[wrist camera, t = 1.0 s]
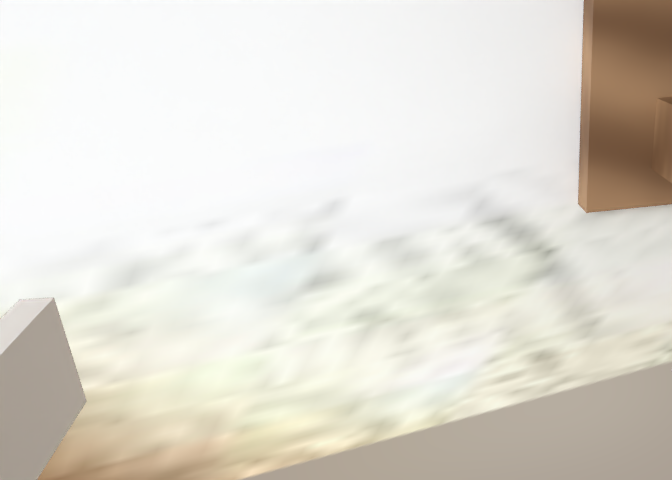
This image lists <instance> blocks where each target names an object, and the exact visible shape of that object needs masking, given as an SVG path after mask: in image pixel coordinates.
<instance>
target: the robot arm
mask: <svg viewBox="0 0 672 480" xmlns="http://www.w3.org/2000/svg"><path fill="white" fill-rule="evenodd" d="M85 403H86V398H85V394H84V391H83V388H82V385H81V382H80V379H79V375H78V372H77V369H76V366H75V363H74V360H73V357H72V353H71V350H70V347H69V344H68V341H67V338H66V334H65V331H64V328H63V325H62V322H61V319H60V315H59V312H58V309H57V306H56V303H55V300H54V298H38V299H23V300H19V301H18V302H17V303H16V304H15V305H14V306H13V307H12V308H11V309H10V310H8V311H7V312H6V313H5V314H4V315H3V316H2V317H1V318H0V480H37V479H38V477H39V476H40V474H41V472H42V471H43V469H44V468H45V466H46V465H47V463H48V461H49V460H50V458H51V457H52V455H53V454H54V452H55V450H56V449H57V447H58V446H59V444H60V442H61V441H62V439H63V438H64V436H65V435H66V433H67V431H68V430H69V428H70V427H71V425H72V424H73V422H74V420H75V419H76V417H77V416H78V414H79V412H80V411H81V409H82V408H83V406H84V405H85Z"/></svg>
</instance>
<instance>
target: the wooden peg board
mask: <svg viewBox="0 0 672 480" xmlns="http://www.w3.org/2000/svg"><path fill="white" fill-rule="evenodd" d="M578 204H579V205H580V206H581V207H582V208H583V210H584V211H585V212H586V213H589V212H598V211H608V210H618V209H628V208H638V207H648V206H658V205H667V204H672V0H584V15H583V51H582V87H581V123H580V159H579V195H578Z"/></svg>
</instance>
